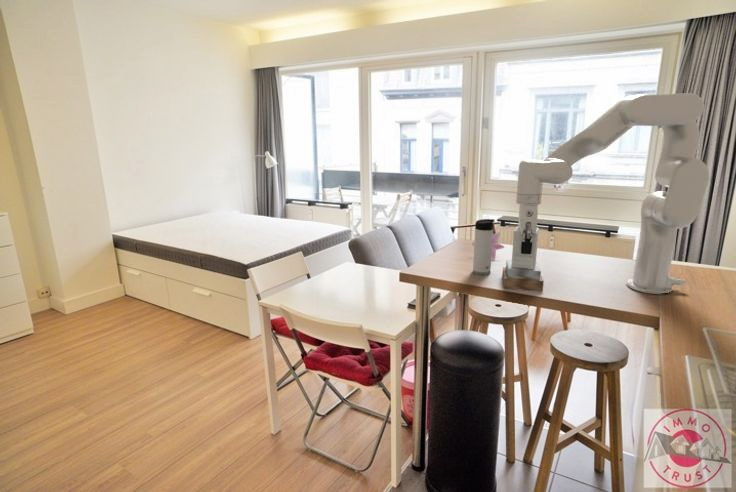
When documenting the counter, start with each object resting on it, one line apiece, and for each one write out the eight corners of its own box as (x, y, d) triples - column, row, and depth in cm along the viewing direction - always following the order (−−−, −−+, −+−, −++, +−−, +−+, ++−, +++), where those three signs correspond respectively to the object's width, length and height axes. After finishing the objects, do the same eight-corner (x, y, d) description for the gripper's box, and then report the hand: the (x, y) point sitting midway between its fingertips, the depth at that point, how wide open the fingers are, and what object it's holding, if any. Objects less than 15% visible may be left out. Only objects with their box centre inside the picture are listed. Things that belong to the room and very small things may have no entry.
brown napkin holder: (537, 278, 151) (539, 261, 149) (542, 291, 139) (544, 272, 138) (502, 276, 153) (503, 259, 152) (504, 288, 142) (505, 270, 141)
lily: (468, 255, 182) (467, 239, 176) (488, 241, 186) (488, 225, 179) (489, 270, 174) (489, 254, 168) (509, 255, 178) (511, 239, 171)
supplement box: (536, 263, 146) (539, 227, 143) (534, 270, 140) (537, 232, 137) (513, 260, 150) (516, 225, 146) (510, 267, 143) (513, 230, 140)
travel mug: (491, 275, 154) (495, 221, 149) (473, 274, 156) (475, 221, 150) (490, 270, 160) (494, 217, 155) (472, 269, 162) (475, 217, 156)
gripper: (545, 203, 130) (539, 257, 134) (537, 194, 146) (533, 243, 150) (518, 203, 131) (514, 256, 136) (514, 194, 147) (510, 242, 152)
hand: (524, 249), depth 143 cm, fingers open, 9 cm apart
